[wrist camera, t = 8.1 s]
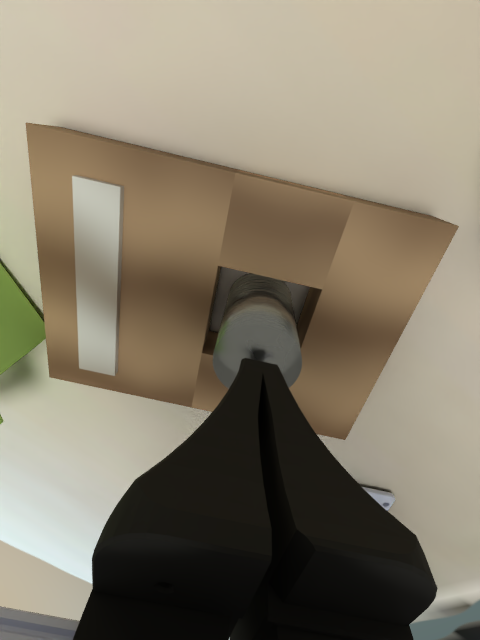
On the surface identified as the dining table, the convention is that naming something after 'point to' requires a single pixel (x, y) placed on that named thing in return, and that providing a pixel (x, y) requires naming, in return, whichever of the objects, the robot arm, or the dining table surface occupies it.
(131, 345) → the jig
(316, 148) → the dining table surface
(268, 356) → the mottled grey cylinder
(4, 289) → the gearbox
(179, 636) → the robot arm
